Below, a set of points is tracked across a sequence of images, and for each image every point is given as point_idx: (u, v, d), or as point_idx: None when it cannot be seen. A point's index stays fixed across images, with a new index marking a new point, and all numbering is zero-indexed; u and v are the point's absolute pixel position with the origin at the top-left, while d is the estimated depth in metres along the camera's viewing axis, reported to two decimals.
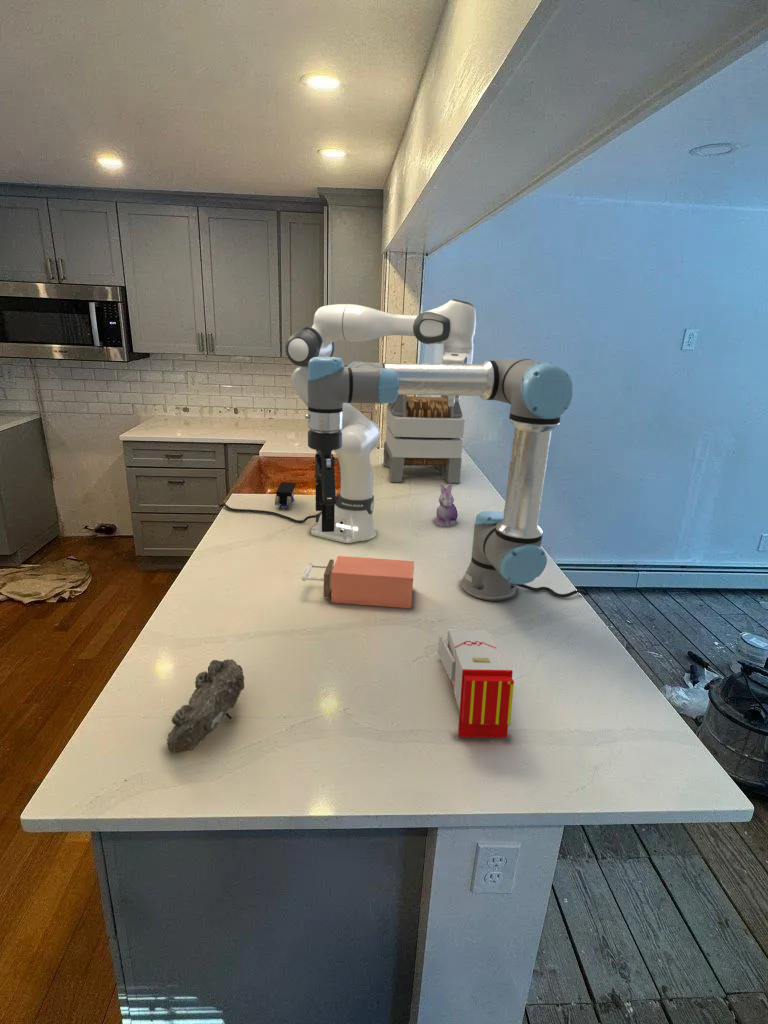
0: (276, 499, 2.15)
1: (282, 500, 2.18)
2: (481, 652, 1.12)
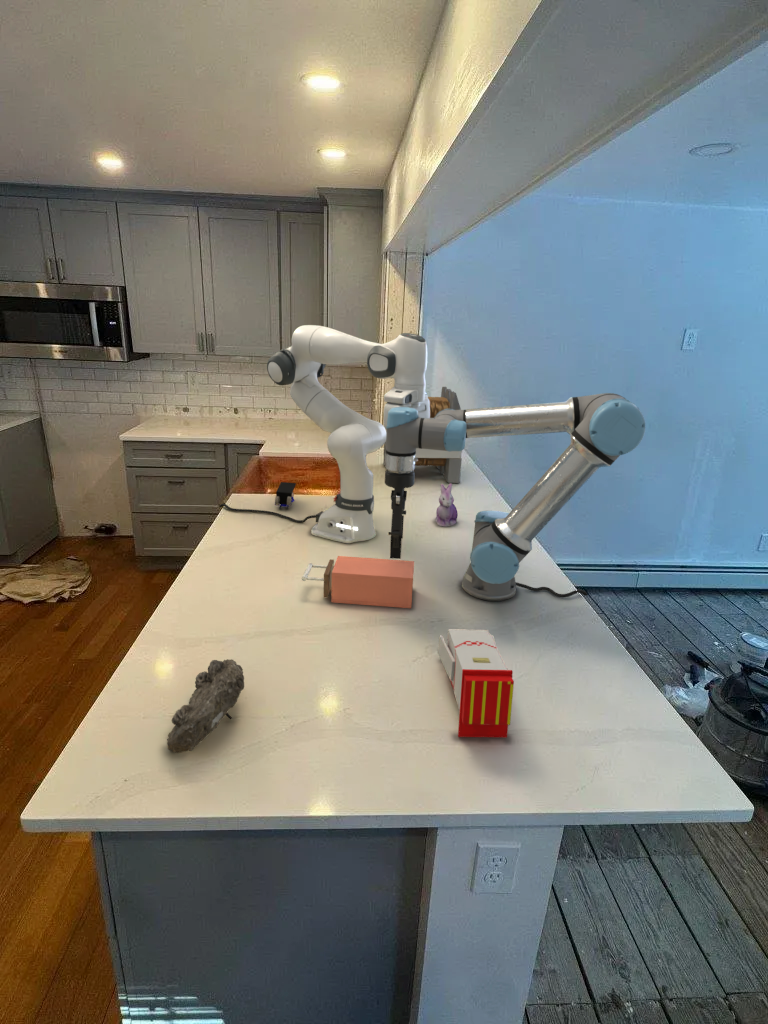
0: (276, 499, 2.15)
1: (282, 500, 2.18)
2: (481, 652, 1.12)
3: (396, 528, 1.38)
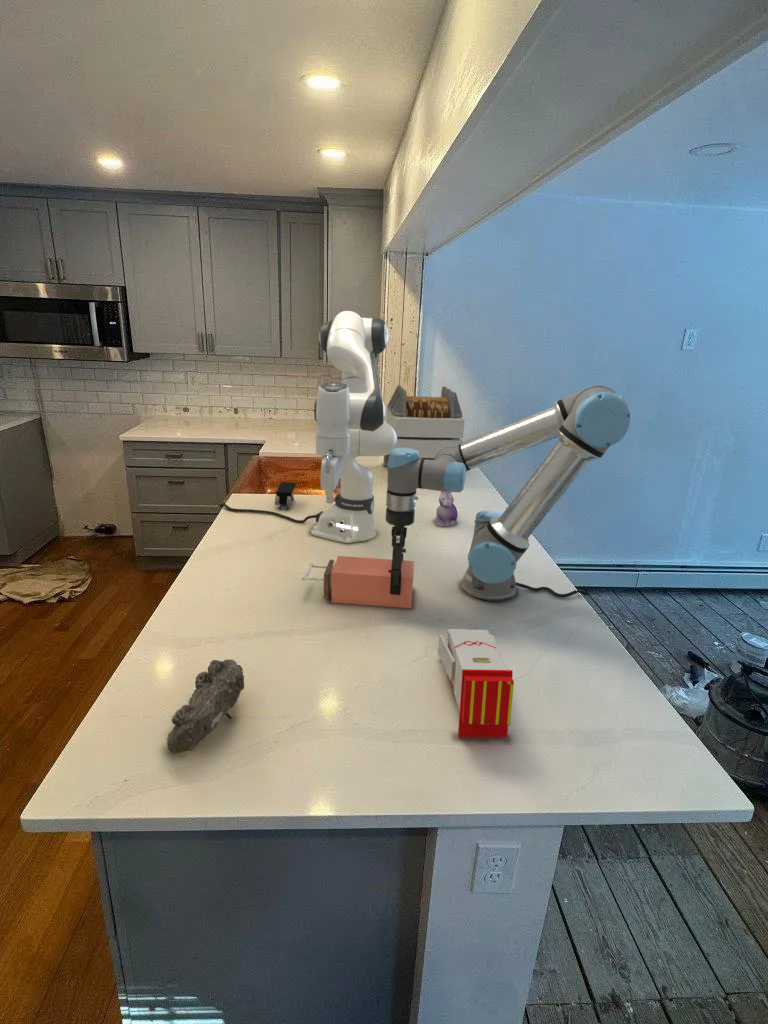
0: (276, 499, 2.15)
1: (282, 500, 2.18)
2: (481, 652, 1.12)
3: (396, 567, 1.43)
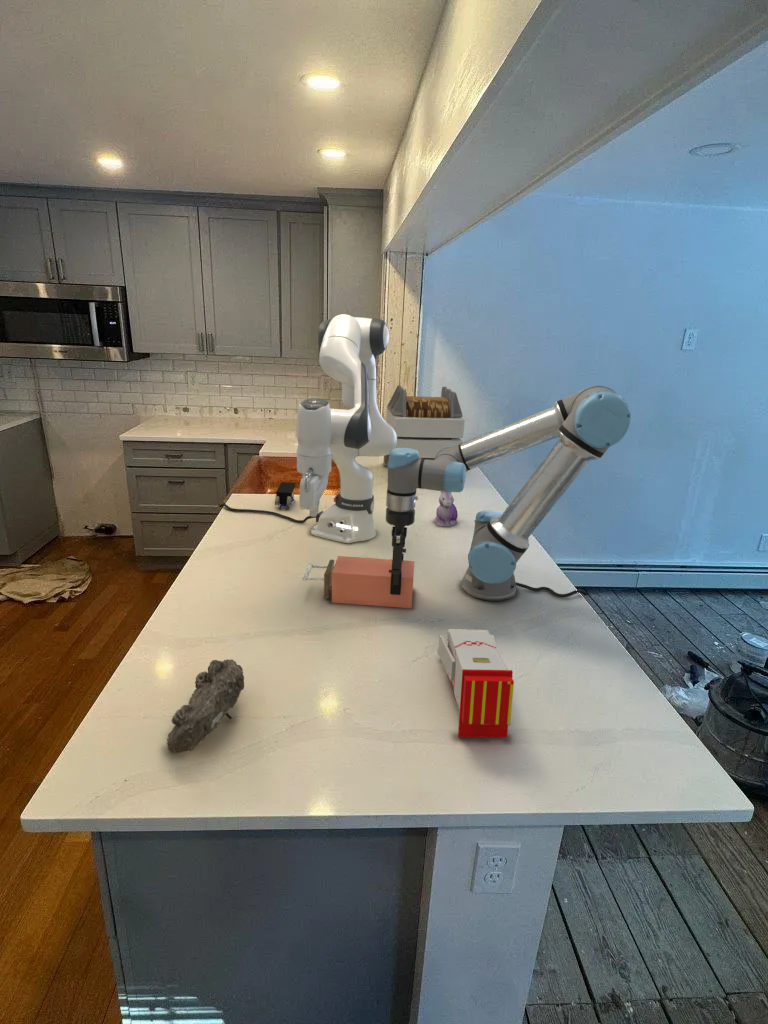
0: (276, 499, 2.15)
1: (282, 500, 2.18)
2: (481, 652, 1.12)
3: (396, 567, 1.43)
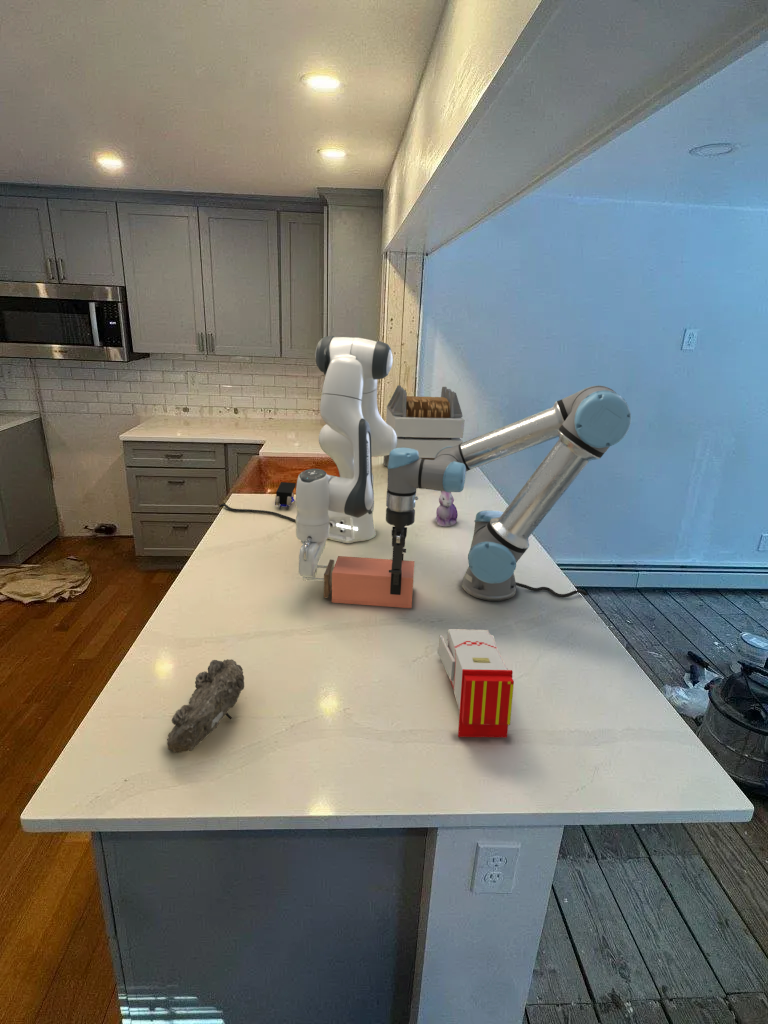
0: (276, 499, 2.15)
1: (282, 500, 2.18)
2: (481, 652, 1.12)
3: (396, 567, 1.43)
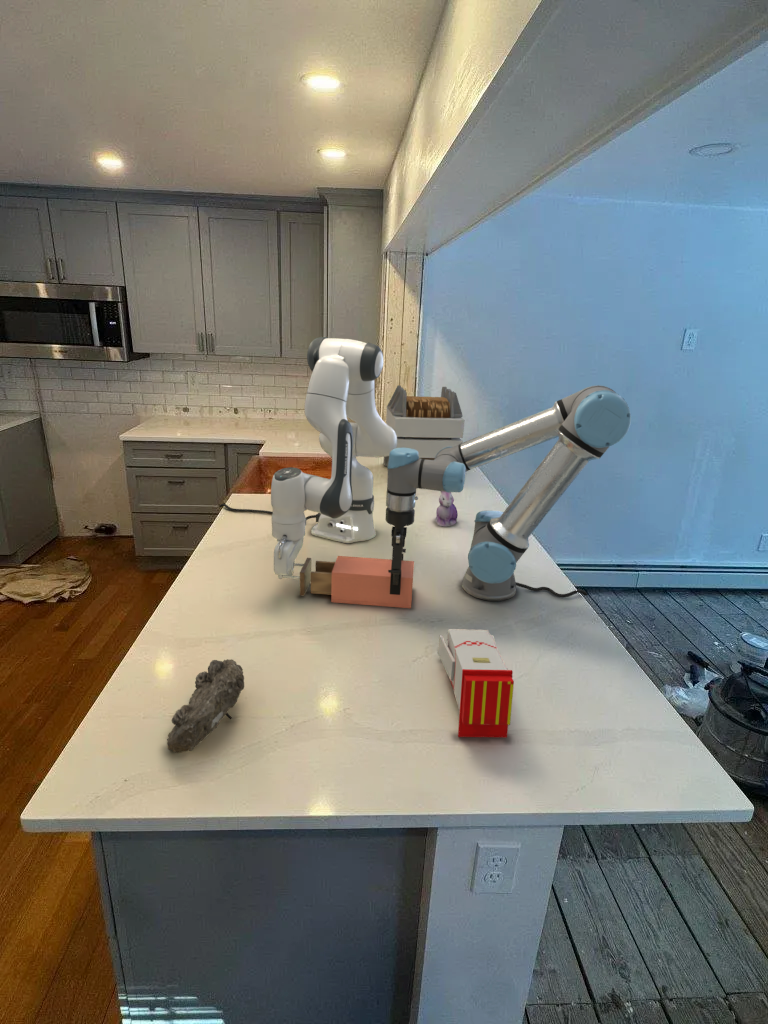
0: None
1: None
2: (481, 652, 1.12)
3: (396, 567, 1.43)
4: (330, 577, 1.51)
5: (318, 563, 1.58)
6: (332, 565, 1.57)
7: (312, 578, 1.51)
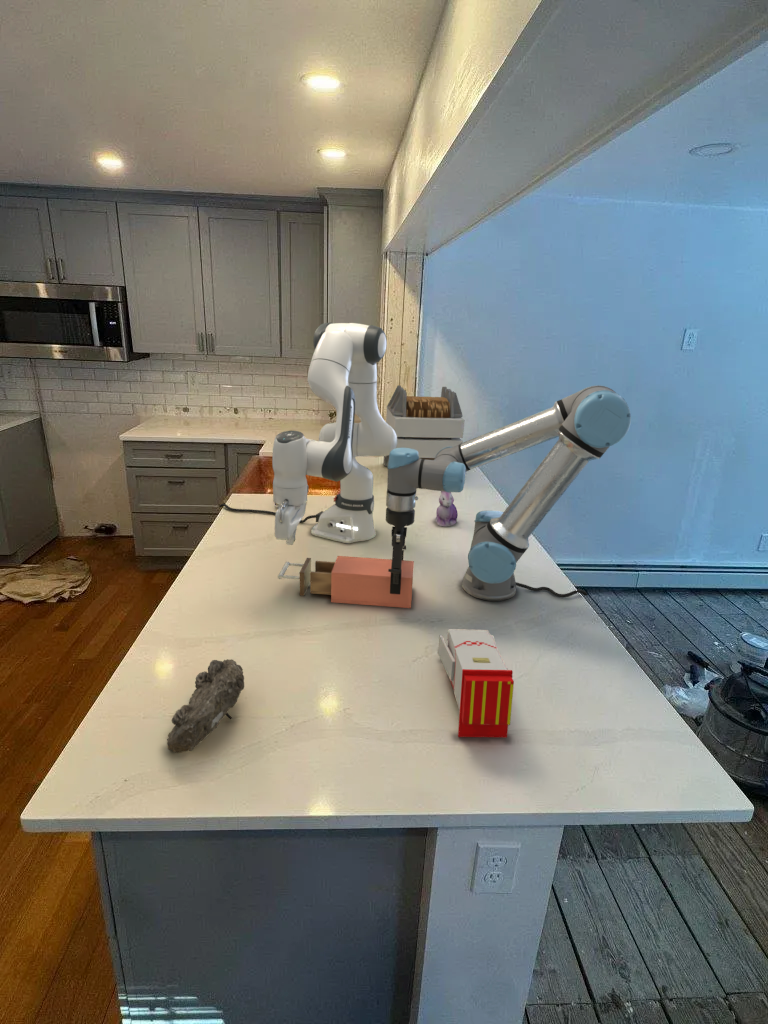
0: None
1: None
2: (481, 652, 1.12)
3: (396, 566, 1.42)
4: (330, 577, 1.51)
5: (317, 563, 1.58)
6: (332, 565, 1.57)
7: (312, 578, 1.52)
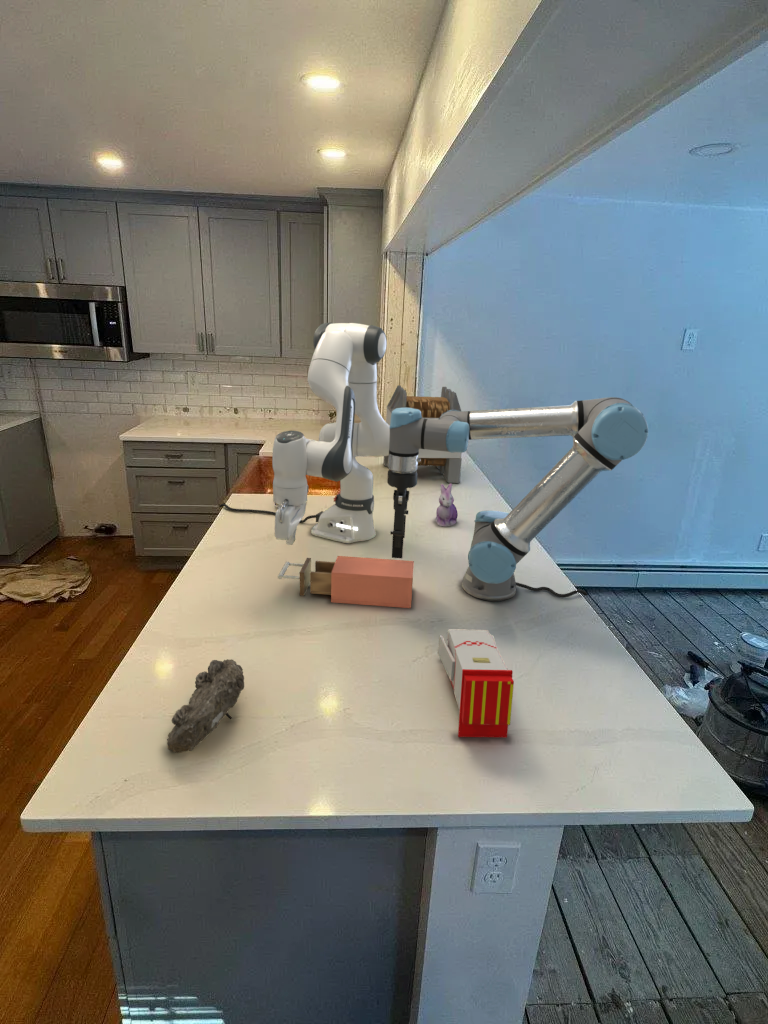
0: None
1: None
2: (481, 652, 1.12)
3: (398, 528, 1.39)
4: (330, 577, 1.51)
5: (317, 563, 1.58)
6: (332, 565, 1.57)
7: (312, 578, 1.52)
